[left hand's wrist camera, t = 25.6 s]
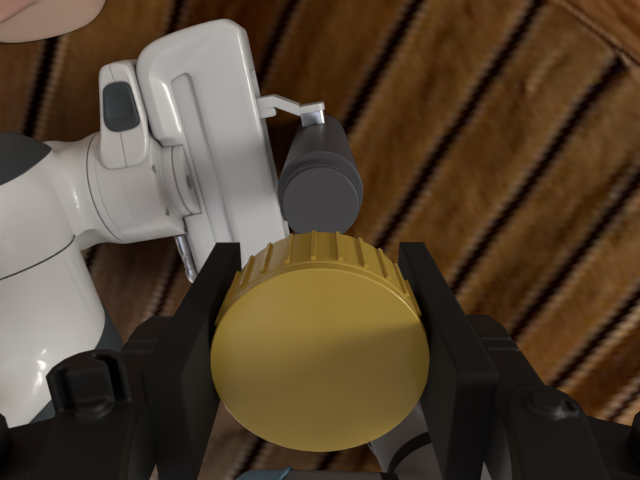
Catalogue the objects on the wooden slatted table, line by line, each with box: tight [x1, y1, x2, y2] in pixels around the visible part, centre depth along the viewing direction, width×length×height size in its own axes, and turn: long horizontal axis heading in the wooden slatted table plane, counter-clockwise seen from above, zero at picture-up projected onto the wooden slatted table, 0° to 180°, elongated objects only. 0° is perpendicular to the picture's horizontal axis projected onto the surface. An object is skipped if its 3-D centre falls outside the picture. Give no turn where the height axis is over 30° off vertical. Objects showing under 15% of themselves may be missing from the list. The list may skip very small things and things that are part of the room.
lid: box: [210, 230, 430, 452], centre depth 12 cm, size 5×5×2 cm
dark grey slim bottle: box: [277, 115, 363, 234], centre depth 31 cm, size 4×4×20 cm
